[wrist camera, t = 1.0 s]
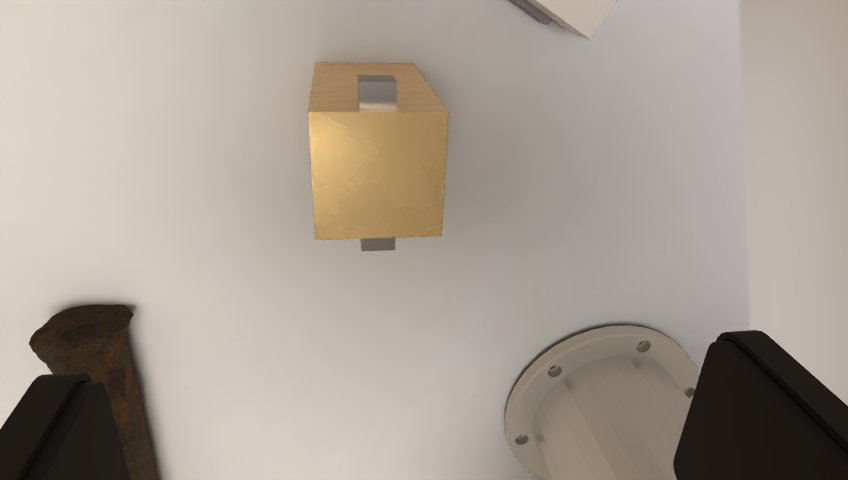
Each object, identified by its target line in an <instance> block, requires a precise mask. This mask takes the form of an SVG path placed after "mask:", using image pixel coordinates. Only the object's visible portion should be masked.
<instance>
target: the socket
mask: <svg viewBox="0 0 848 480" xmlns="http://www.w3.org/2000/svg"><path fill="white" fill-rule="evenodd" d="M510 1H511V2H513V3H514V4H515V5H517V6H518V7H520V8H521V9H522V10H524V11H525V12H527V13H528V14H529V15H531V16H532V17H534V18H535V19H537V20H538V21H539V22H541V23H544V24H547V25H548V24H549V23H550V21H551V19H553V20H554V21H556V22H557V23H559V24H560V25H561V26H563V27H564V28H565V29H567V30H568V31H570V32H571V33H572V34H575V35H578V36H581V37H584V38H587V39H591V38H592V36H593V35H594V33H595V32H596V31H597V29H598V28H599V26H600V25H601V23H602V22H603V20H604V19H605V17H606V16H607V14H608V13H609V11H610V10H611V9H612V7H613V6H614V4H615V3H616V1H617V0H510Z"/></svg>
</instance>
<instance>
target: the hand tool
mask: <svg viewBox="0 0 848 480" xmlns="http://www.w3.org/2000/svg"><path fill="white" fill-rule="evenodd" d="M133 315H134V314H133V313H132V312H131V311H130V310H129V309H128V308H127V307H126V306H125V305H88V306H80V307H76V308H71V309H68V310H65V311H62V312H60V313H57V314H56V315H54V316H53V317H51V318H50V319H49V320H48V322H47V323H46V324H45V325H44V326H42V327H41V328H40V329H38V330H37V331H36V332H35V333H34V334H33V335H32V337H31V339H30V342H29V345H30V346H31V348H32V350H33V352H35V353H36V355H37V356H38V358H39V359H40V360H41V361H43V362H44V363H46V364H47V366H48V368H49V369H50V370H51V372H52V373H53V374H65V373H81V372H84V373H88V375H89V376H90V377H91V379H92V381H93V382H102V383H103V384H104V386H105V388H106V391H107V395H108V398H109V402H110V406H111V409H112V413H113V417H114V420H115V424H116V428H117V431H118V435H119V439H120V442H121V446H122V450H123V453H124V457H125V461H126V464H127V468H128V472H129V475H130V479H131V480H157V479H156V473H155V467H154V462H153V457H152V453H151V443H150V437H149V435H148V433H147V430H146V426H145V420H144V416H143V407H142V404H141V397H140V390H139V383H138V382H137V380H136V378H135V373H134V370H133V367H132V364H131V359H130V355H129V351H128V348H127V341H126V335H125V331H126V328H127V326H128V325H129V322H130V319H131V317H132V316H133Z"/></svg>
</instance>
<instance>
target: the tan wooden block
mask: <svg viewBox="0 0 848 480" xmlns="http://www.w3.org/2000/svg"><path fill="white" fill-rule="evenodd" d="M308 119H309V138H310V156H311V174H312V192H313V210H314V229H315V240H331V239H361V249H362V251H378V250H395V237H426V236H442V225H443V206H444V187H445V168H446V150H447V131H448V111H447V109H446V108H445V106H444V105H443V104H442V102H441V101H440V100H439V98H438V97H437V95H436V94H435V93H434V91H433V90H432V88H431V87H430V86H429V84H428V83H427V82H426V80H425V79H424V77H423V76H422V75H421V73H420V72H419V70H418V69H417V68H416V66H415V65H414V64H413V63H330V62H316V63H315V70H314V76H313V83H312V89H311V96H310V103H309V109H308Z"/></svg>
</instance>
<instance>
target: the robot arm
mask: <svg viewBox="0 0 848 480" xmlns="http://www.w3.org/2000/svg"><path fill="white" fill-rule="evenodd" d="M505 430H506V434H507V437H508V440H509V443H510V446H511V448H512V451H513V453H514V455H515V457H516V459H517V460H518V461H519V462H520V463H521V465H522V466H523V467H524V468H525V469H526V470H528V471H529V472H531V473H532V474H533V475H535V476H537V477H539V478H541V479H543V480H848V406H847V405H846V404H845V403H844V402H842V401H841V400H840V399H839V398H838V397H837V396H836V395H834V394H833V393H832V392H831V391H830V390H829V389H828V388H826V387H825V386H824V385H823V384H822V383H821V382H820V381H819V380H818V379H816V378H815V377H814V376H813V375H812V374H811V373H810V372H809V371H807V370H806V369H805V368H804V367H803V366H802V365H801V364H800V363H798V362H797V361H796V360H795V359H794V358H793V357H792V356H790V355H789V354H788V353H787V352H786V351H785V350H784V349H783V348H781V347H780V346H779V345H778V344H777V343H776V342H775V341H774V340H772V339H771V338H770V337H769V336H768V335H766V334H765V333H763V332H762V331H757V330H752V331H736V332H725V333H722V334H721V335H720V336H718V338H717V340H716V342H713V343H712V344H711V345H710V346H709V348H708V350H707V353H706V357H705V360H704V363H703V366H702V369H701V373H700V376H699V378H698V375H697V372H696V369H695V366H694V364H693V363H692V361H691V360H690V359H689V357H688V356H687V354H686V353H685V352H684V351H683V350H682V349H681V348H680V347H679V346H678V345H677V344H676V343H675V342H674V341H673V340H671V339H670V338H668V337H667V336H665V335H664V334H662V333H660V332H657V331H654V330H651V329H648V328H644V327H637V326H630V325H626V326H608V327H603V328H598V329H593V330H589V331H587V332H584V333H581V334H578V335H575V336H573V337H571V338H569V339H567V340H565V341H563V342H561V343H559V344H557V345H556V346H554V347H552V348H551V349H550V350H548V351H547V352H546V353H544V354H543V355H542V356H540V357H539V358H538V359H537V360H536V361H535V362H534V363H533V364H532V365H531V366H530V367H529V368H528V369H527V370H526V371H525V372H524V374H523V375H522V376H521V378H520V379H519V381H518V382H517V384H516V385H515V387H514V389H513V391H512V393H511V396H510V398H509V400H508V404H507V408H506V413H505ZM0 480H131V479H130V475H129V472H128V468H127V464H126V461H125V457H124V453H123V450H122V446H121V442H120V439H119V435H118V431H117V428H116V424H115V420H114V417H113V413H112V409H111V406H110V402H109V398H108V395H107V391H106V388H105V386H104V384H103V383H102V382H93V381H92V379H91V377H90V376H89V375H88V373H84V372H81V373H65V374H49V375H41V376H39V377H37V378H36V379H35V380H34V381H33V382H32V384H31V385H30V387H29V388H28V390H27V391H26V393H25V394H24V395H23V397H22V398H21V400H20V401H19V403H18V404H17V406H16V407H15V409H14V410H13V412H12V413H11V414H10V416H9V417H8V419H7V420H6V422H5V423H4V425H3V426H2V428H1V429H0Z"/></svg>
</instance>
